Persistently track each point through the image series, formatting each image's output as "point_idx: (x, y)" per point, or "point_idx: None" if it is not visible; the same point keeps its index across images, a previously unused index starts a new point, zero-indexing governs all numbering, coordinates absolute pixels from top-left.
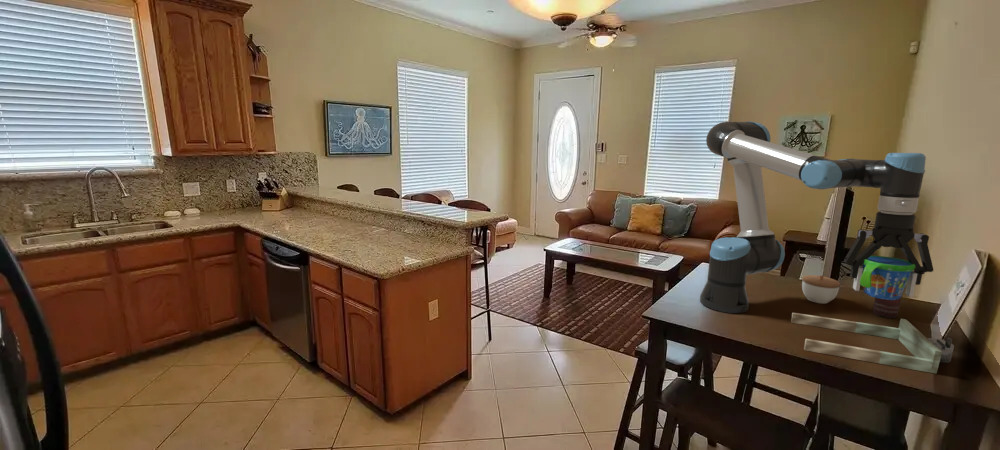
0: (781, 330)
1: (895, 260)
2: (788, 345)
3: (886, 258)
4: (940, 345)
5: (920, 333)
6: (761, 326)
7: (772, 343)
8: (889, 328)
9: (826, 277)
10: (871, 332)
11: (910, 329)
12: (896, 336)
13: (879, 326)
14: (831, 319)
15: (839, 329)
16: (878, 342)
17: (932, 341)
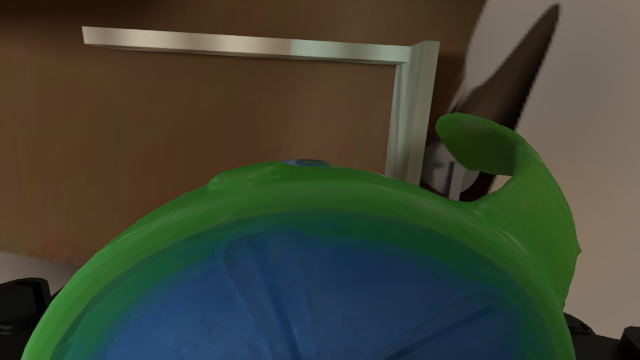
0: (78, 135)
1: (453, 321)
2: (98, 233)
3: (379, 265)
4: (443, 189)
5: (418, 167)
6: (16, 127)
7: (59, 238)
8: (380, 60)
9: None
10: (332, 60)
11: (410, 129)
12: (393, 63)
13: (354, 56)
14: (214, 49)
15: (249, 56)
16: (332, 113)
17: (437, 168)
